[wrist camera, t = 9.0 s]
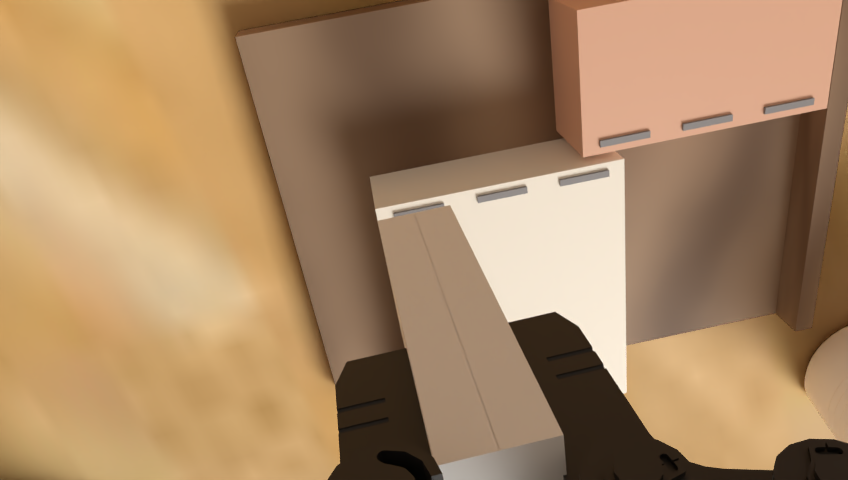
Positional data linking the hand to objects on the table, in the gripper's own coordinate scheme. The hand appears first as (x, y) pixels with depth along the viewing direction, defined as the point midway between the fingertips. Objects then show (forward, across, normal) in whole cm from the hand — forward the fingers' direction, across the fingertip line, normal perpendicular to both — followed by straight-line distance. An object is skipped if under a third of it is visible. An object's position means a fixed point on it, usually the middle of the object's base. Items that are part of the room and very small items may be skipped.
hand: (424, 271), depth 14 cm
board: (+13, +7, -5) cm, 16 cm away
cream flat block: (+12, +4, -8) cm, 15 cm away
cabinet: (+12, +11, 0) cm, 16 cm away
